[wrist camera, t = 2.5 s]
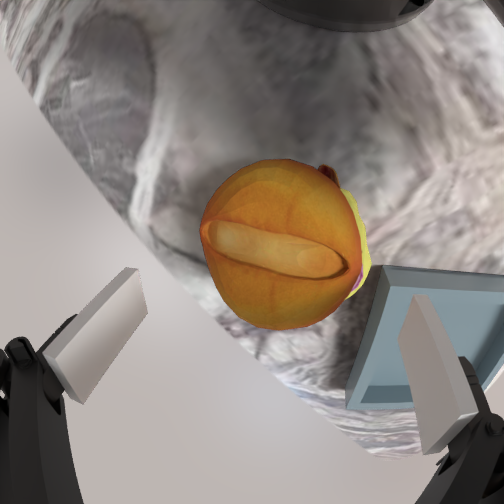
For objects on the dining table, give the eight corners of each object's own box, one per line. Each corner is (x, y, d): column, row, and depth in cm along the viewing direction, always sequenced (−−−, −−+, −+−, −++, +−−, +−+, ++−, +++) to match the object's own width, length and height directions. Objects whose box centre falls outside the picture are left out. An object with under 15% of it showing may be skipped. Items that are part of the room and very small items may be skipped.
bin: (382, 265, 21) (390, 285, 18) (526, 277, 18) (541, 293, 15) (345, 387, 28) (345, 409, 25) (470, 382, 25) (476, 400, 22)
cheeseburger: (268, 313, 25) (223, 383, 15) (216, 198, 24) (139, 211, 14) (382, 274, 21) (403, 339, 12) (330, 144, 20) (318, 114, 11)
